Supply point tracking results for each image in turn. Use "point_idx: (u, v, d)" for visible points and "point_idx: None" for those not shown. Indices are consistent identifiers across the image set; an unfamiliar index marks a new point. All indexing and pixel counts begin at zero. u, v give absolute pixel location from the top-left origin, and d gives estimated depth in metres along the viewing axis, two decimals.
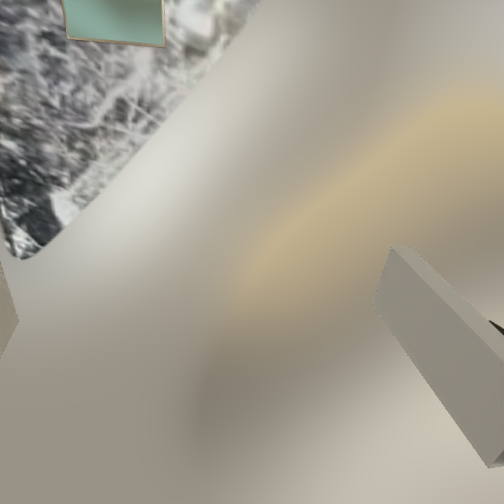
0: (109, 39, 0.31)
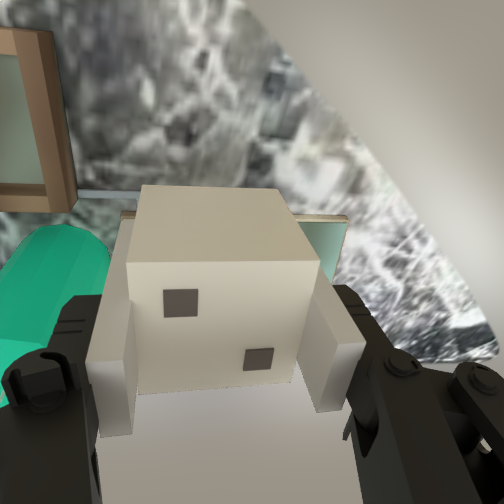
0: (333, 272, 0.29)
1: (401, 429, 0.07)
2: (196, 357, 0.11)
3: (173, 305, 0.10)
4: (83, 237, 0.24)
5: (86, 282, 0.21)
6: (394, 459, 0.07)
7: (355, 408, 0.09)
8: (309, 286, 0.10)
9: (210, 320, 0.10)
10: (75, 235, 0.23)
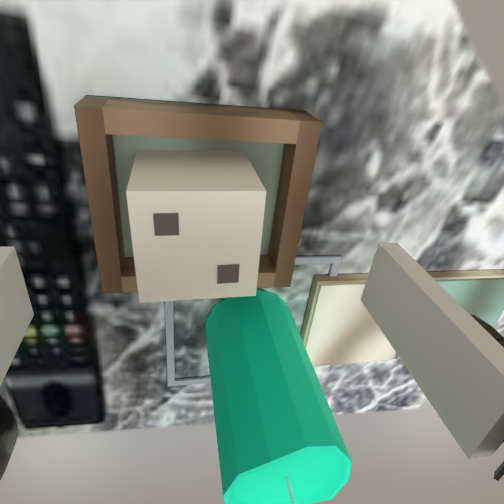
0: (494, 323, 0.28)
1: None
2: (181, 271, 0.15)
3: (161, 225, 0.13)
4: (278, 303, 0.23)
5: (307, 357, 0.21)
6: None
7: None
8: (260, 212, 0.14)
9: (189, 239, 0.14)
10: (272, 302, 0.23)
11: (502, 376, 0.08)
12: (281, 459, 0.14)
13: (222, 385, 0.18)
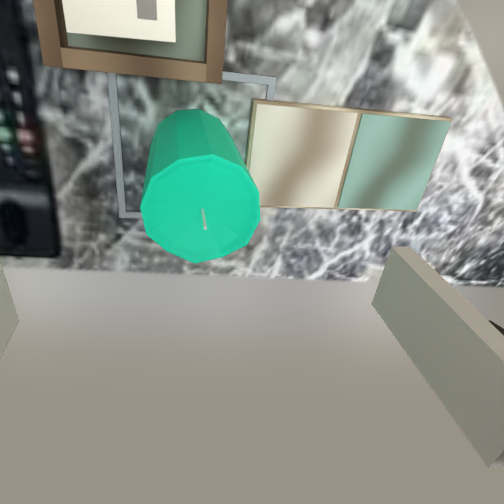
0: (429, 175, 0.30)
1: None
2: None
3: None
4: (218, 120, 0.25)
5: (237, 150, 0.22)
6: None
7: None
8: None
9: None
10: (211, 117, 0.25)
11: None
12: (188, 161, 0.16)
13: (153, 153, 0.20)
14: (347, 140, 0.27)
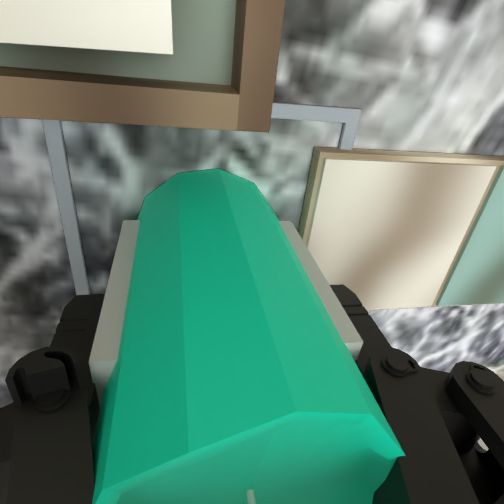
0: None
1: (398, 429, 0.07)
2: None
3: None
4: (254, 190, 0.14)
5: (301, 265, 0.11)
6: None
7: None
8: None
9: None
10: (243, 186, 0.13)
11: None
12: (220, 447, 0.05)
13: (127, 301, 0.09)
14: (470, 210, 0.16)
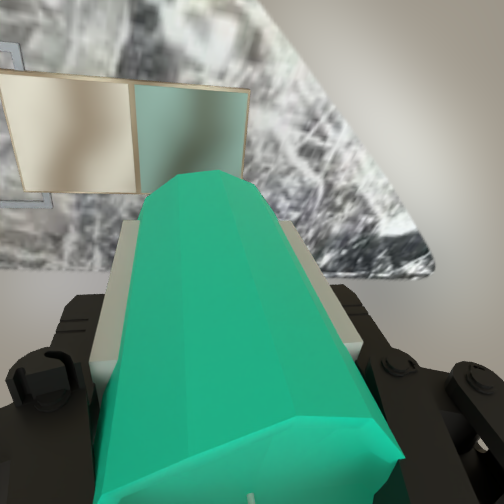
0: (241, 155, 0.28)
1: (398, 429, 0.07)
2: None
3: None
4: (254, 191, 0.14)
5: (301, 267, 0.11)
6: None
7: None
8: None
9: None
10: (243, 187, 0.13)
11: None
12: (220, 452, 0.05)
13: (127, 304, 0.09)
14: (125, 115, 0.24)
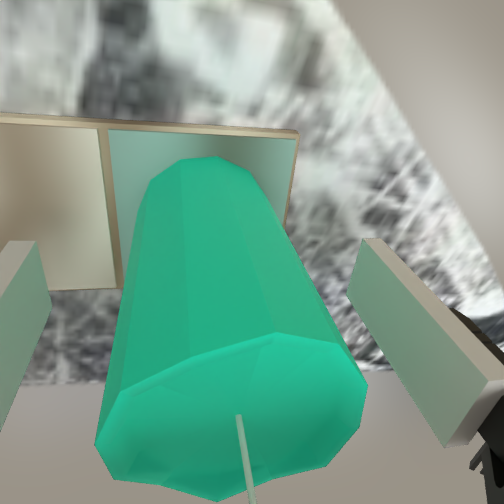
0: None
1: None
2: None
3: None
4: (249, 176, 0.15)
5: (289, 241, 0.12)
6: None
7: (495, 446, 0.09)
8: None
9: None
10: (239, 172, 0.15)
11: (474, 366, 0.09)
12: (215, 356, 0.06)
13: (135, 264, 0.10)
14: (95, 179, 0.15)
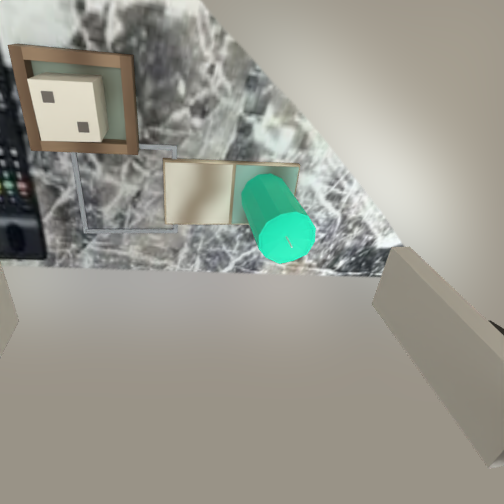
0: None
1: None
2: (59, 123, 0.32)
3: (45, 97, 0.30)
4: (282, 180, 0.43)
5: None
6: None
7: None
8: (92, 93, 0.31)
9: (60, 106, 0.31)
10: (279, 179, 0.42)
11: None
12: (284, 215, 0.34)
13: (255, 204, 0.38)
14: (229, 181, 0.42)
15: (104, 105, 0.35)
